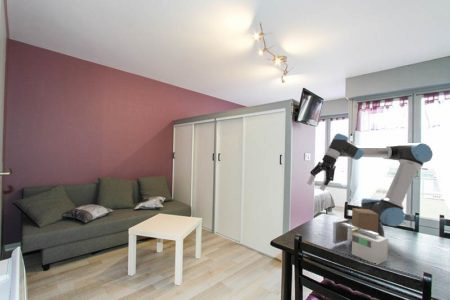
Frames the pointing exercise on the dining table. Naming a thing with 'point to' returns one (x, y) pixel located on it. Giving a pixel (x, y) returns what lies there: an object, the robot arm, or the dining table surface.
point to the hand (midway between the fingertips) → (314, 187)
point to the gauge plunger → (342, 231)
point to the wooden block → (365, 219)
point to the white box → (370, 247)
